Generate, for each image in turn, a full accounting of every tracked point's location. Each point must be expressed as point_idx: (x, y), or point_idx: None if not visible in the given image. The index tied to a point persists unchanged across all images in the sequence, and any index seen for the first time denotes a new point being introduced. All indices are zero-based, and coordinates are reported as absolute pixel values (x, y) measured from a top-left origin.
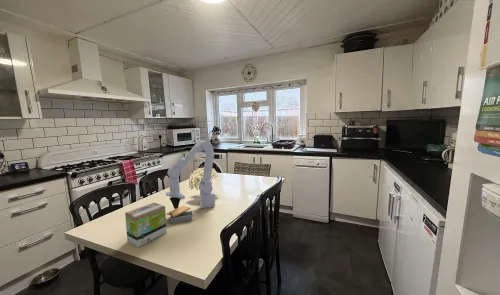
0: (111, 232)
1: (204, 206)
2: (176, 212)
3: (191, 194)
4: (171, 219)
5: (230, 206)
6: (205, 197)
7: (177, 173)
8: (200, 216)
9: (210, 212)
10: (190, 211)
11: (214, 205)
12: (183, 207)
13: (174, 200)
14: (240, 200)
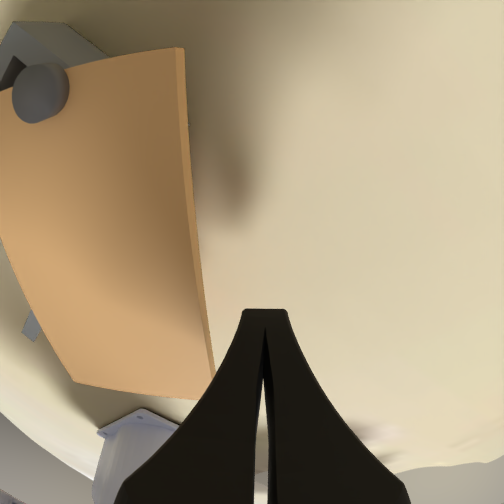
0: None
1: (132, 425)
2: (38, 205)
3: (402, 464)
4: (9, 46)
5: (50, 430)
6: (107, 493)
7: None
8: (8, 312)
9: (33, 373)
10: (28, 327)
11: (104, 437)
12: (145, 371)
13: (124, 493)
14: (86, 465)
